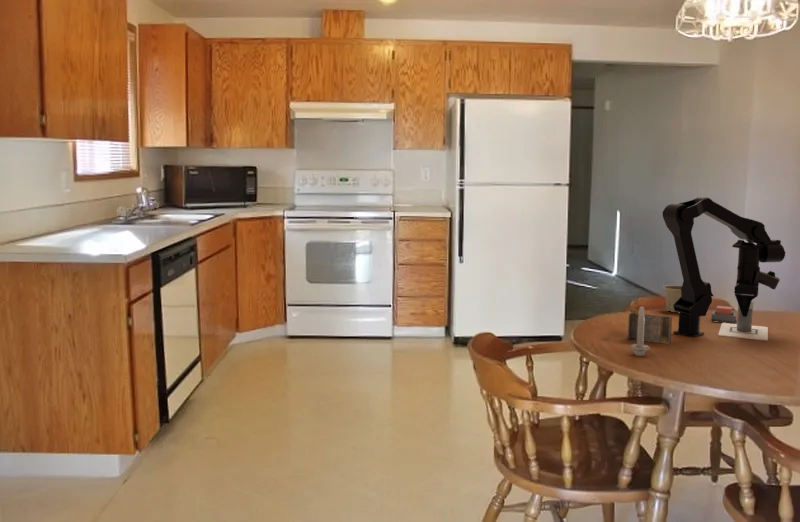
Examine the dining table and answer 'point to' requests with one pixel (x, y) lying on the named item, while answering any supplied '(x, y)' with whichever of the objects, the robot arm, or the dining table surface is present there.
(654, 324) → the bent metal bracket
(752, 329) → the paper sheet
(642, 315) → the screw
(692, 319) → the robot arm
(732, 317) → the button housing
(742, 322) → the grey cylinder
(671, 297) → the flower pot
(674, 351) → the dining table surface
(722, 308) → the button
